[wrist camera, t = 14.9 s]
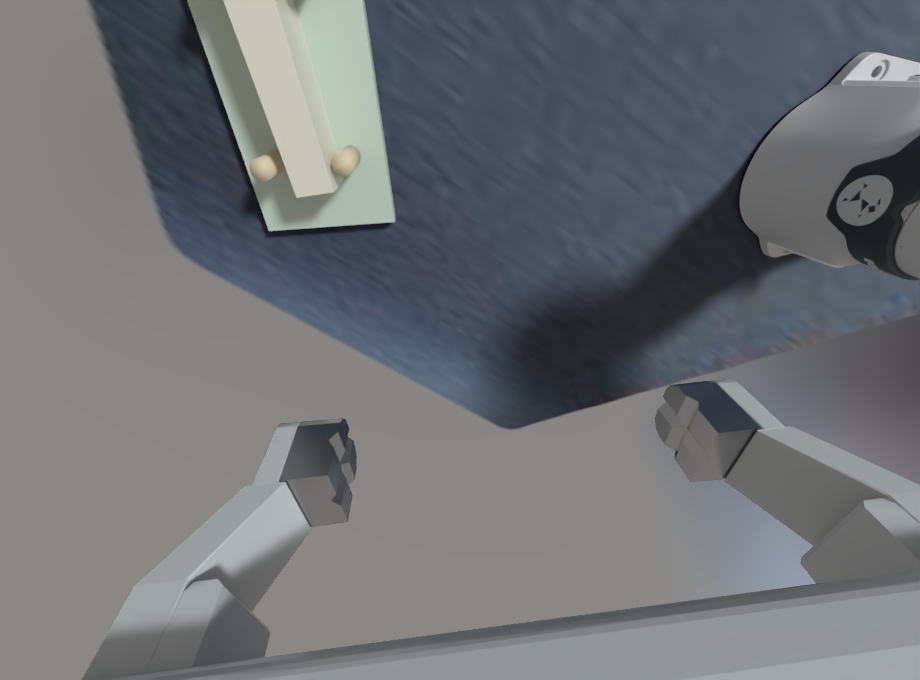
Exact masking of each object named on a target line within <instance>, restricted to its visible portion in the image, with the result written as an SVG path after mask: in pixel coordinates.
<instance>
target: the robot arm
mask: <svg viewBox="0 0 920 680" xmlns="http://www.w3.org/2000/svg"><path fill="white" fill-rule="evenodd" d="M872 71H873V72H872ZM740 212H741V216H742V218H743V220H744V222H745V224H746V225H747V226H748V228H749V229H751V230H752V231H753V232H754V233H755V234H756V235H757V236H758V237H759V241H760V247H761V250H762V252H763V254H765V255H767V256H770V257H780V256H784V255H787V254H791V253H795V254H798V255H800V256H803V257H806V258H809V259H811V260H814V261H817V262H820V263H823V264H825V265H828V266H831V267H836V268H842V267H844V266H848V265H854V264H858V263H860V262H861V263H863V264H866V265H868V266H870V267H871V268H873V269H875V270H877V271H880V272H882V273H885V274H888V275H895V276H897V277H900V278H903V279H908V280H920V63H918V62H914V61H910V60H906V59H902V58H898V57H894V56H890V55H886V54H882V53H876V52H864V53H861V54H859V55H858V56H856V57H855V58H854V59H852V60H851V61H850V62H849V63H848V64H847V65H846V66H845V67H844V68H843V69H842V70H841V71H840V72H839V73H838V75H837V76H836V77H835V78H834V79H833V80H832V81H831V82H830V83H829V84H828V85H827V86H826V87H825V88H824V89H822V90H821V91H820V92H818V93H817V94H815V95H814V96H812V97H811V98H809V99H808V100H806V101H805V102H803V103H802V104H800V105H799V106H798V107H796V108H795V109H794V110H793V111H791V112H790V113H789V114H788V115H787V116H786V117H785V118H784V119H783V120H782V121H781V122H780V123H779V124H778V125H777V126H776V127H775V128H774V129H773V130H772V131H771V132H770V134H769V135H768V136H767V137H766V139H765V140H764V141H763V143H762V144H761V146H760V147H759V149H758V150H757V152H756V153H755V155H754V157H753V159H752V160H751V162H750V164H749V166H748V169H747V171H746V173H745V176H744V179H743V182H742V186H741V191H740ZM663 397H664V399H665V401H666V402H665V404H663V405H662V406H661V407H660V408H659V409H658V410H657V414H656V417H655V422H656V429H657V432H658V434H659V436H660V438H661V440H662V441H663V442H664V444H665V445H667V446H668V447H670V448H672V449H673V450H675V460H676V462H677V463H678V465H679V466H680V467H681V469H682V470H683V472H684V473H685V475H686V476H687V478H688V479H689V480H690V482H698V481H709V480H721V479H725V482H726V483H728V484H729V485H731V486H732V487H734V488H735V489H736V490H737V491H739V492H740V493H742V494H743V495H744V496H746V497H747V498H748V499H750V500H751V501H753V502H754V503H755V504H757V505H758V506H760V507H761V508H762V509H764V510H765V511H767V512H768V513H769V514H771V515H772V516H773V517H775V518H776V519H777V520H779V521H780V522H782V523H783V524H784V525H786V526H787V527H788V528H790V529H791V530H793V531H794V532H795V533H797V534H798V535H800V536H801V537H802V538H804V539H805V540H806V541H808V542H809V543H810V544H812V545H813V547H812V548H811V549H810V550H809V551H808V552H807V553H806V554H804V555H803V556H802V558H801V564H802V566H803V567H804V569H805V570H806V571H807V572H808V574H809V575H810V576H811V577H812V579H813V580H814V581H815V583H816V584H810V585H803V586H795V587H788V588H781V589H773V590H765V591H758V592H751V593H743V594H736V595H729V596H721V597H714V598H705V599H698V600H691V601H683V602H676V603H669V604H661V605H654V606H646V607H639V608H631V609H624V610H616V611H608V612H601V613H593V614H586V615H578V616H571V617H563V618H556V619H549V620H541V621H533V622H526V623H519V624H511V625H503V626H496V627H488V628H481V629H473V630H466V631H458V632H451V633H444V634H436V635H428V636H422V637H414V638H406V639H398V640H391V641H384V642H376V643H369V644H361V645H354V646H346V647H339V648H331V649H324V650H316V651H309V652H301V653H294V654H287V655H279V656H271V657H265V653H266V648H267V644H268V641H269V637H270V632H269V630H268V628H267V626H266V625H265V624H264V623H263V622H262V621H261V620H260V619H258V618H257V616H255V615H254V614H253V613H252V611H253V609H254V608H255V606H256V605H257V604H258V602H259V601H260V600H261V598H262V597H263V595H264V594H265V592H266V591H267V590H268V589H269V587H270V586H271V584H272V583H273V582H274V580H275V579H276V577H277V576H278V575H279V573H280V572H281V570H282V569H283V567H284V566H285V565H286V564H287V562H288V561H289V559H290V558H291V556H292V555H293V554H294V553H295V551H296V550H297V548H298V547H299V546H300V544H301V543H302V541H303V540H304V539H305V537H306V535H308V533H309V532H310V530H311V528H310V527H314V526H321V525H329V524H335V523H342V522H348V517H349V512H350V506H351V499H352V493H351V491H350V488H349V484H350V483H351V482H352V481H353V480H354V479H355V474H356V450H355V445H354V442H353V440H351V439H350V438H348V432H349V427H348V424H347V422H346V420H345V419H330V420H317V421H304V422H296V423H283V424H280V425H279V426H278V427H277V428H276V429H275V431H274V433H273V436H272V438H271V441H270V443H269V446H268V448H267V450H266V453H265V455H264V458H263V460H262V462H261V465H260V467H259V470H258V472H257V475H256V477H255V480H254V482H253V484H252V485H247V486H245V487H244V488H242V489H241V490H240V491H239V492H238V493H237V494H236V495H235V496H234V497H232V498H231V499H230V500H229V501H228V502H227V503H226V504H225V505H224V506H223V507H222V508H221V509H219V510H218V511H217V512H216V513H215V514H214V515H213V516H212V517H210V518H209V519H208V520H207V521H206V522H205V523H204V524H203V525H202V526H200V527H199V528H198V529H197V530H196V531H195V532H194V533H193V534H192V535H191V536H190V537H188V538H187V539H186V540H185V541H184V542H183V543H182V544H181V545H180V546H178V547H177V548H176V549H175V550H174V551H173V552H172V553H171V554H170V555H169V556H167V557H166V558H165V559H164V560H163V561H162V562H161V563H160V564H159V565H157V566H156V567H155V568H154V569H153V570H152V571H151V572H150V573H149V574H148V575H146V576H145V577H144V578H143V579H142V580H141V581H140V582H139V583H138V584H137V585H135V586H134V588H133V590H132V591H131V593H130V595H129V597H128V599H127V600H126V602H125V604H124V606H123V607H122V609H121V611H120V613H119V614H118V617H117V618H116V620H115V622H114V623H113V625H112V627H111V629H110V631H109V633H108V634H107V636H106V638H105V640H104V641H103V643H102V645H101V647H100V648H99V650H98V652H97V653H96V655H95V657H94V659H93V661H92V662H91V664H90V666H89V668H88V669H87V671H86V673H85V675H84V677H83V678H82V680H920V485H918V484H916V483H914V482H912V481H909V480H907V479H905V478H903V477H901V476H899V475H896V474H894V473H892V472H890V471H888V470H885V469H883V468H881V467H879V466H877V465H874V464H872V463H870V462H868V461H866V460H864V459H861V458H859V457H857V456H855V455H853V454H851V453H848V452H846V451H844V450H842V449H840V448H837V447H835V446H833V445H831V444H829V443H826V442H824V441H822V440H820V439H818V438H816V437H813V436H811V435H809V434H807V433H805V432H802V431H800V430H798V429H796V428H794V427H792V426H791V427H785V426H784V425H783V424H781V423H780V422H779V421H778V420H777V419H776V418H775V417H774V416H773V415H772V414H771V413H770V412H768V411H767V410H766V409H765V408H764V407H763V406H762V405H761V404H760V403H759V402H758V401H757V400H756V399H755V398H754V397H753V396H751V395H750V394H749V393H748V392H747V391H746V390H745V389H744V388H743V387H742V386H741V385H740V384H739V383H737V382H736V381H734V380H731V379H723V380H713V381H703V382H694V383H686V384H676V385H670V386H669V387H668V388H667V389H666V390H665V393H664V395H663Z"/></svg>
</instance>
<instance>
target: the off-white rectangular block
mask: <svg viewBox="0 0 920 680" xmlns="http://www.w3.org/2000/svg"><path fill="white" fill-rule="evenodd" d="M223 1H224V4H225V6H226V9H227V12H228V15H229V17H230V20H231V23H232V25H233V28H234V31H235V33H236V36H237V39H238V41H239V44H240V47H241V50H242V52H243V55H244V58H245V60H246V63H247V66H248V68H249V71H250V74H251V76H252V79H253V82H254V85H255V87H256V90H257V93H258V95H259V98H260V101H261V103H262V106H263V109H264V112H265V114H266V117H267V120H268V122H269V125H270V128H271V130H272V133H273V136H274V138H275V141H276V144H277V147H278V149H279V152H280V155H281V157H282V160H283V163H284V165H285V168H286V171H287V173H288V176H289V179H290V182H291V184H292V187H293V190H294V192H295V195H296V198H299V197H306V196H312V195H319V194H326V193H332V192H335V191H336V189H337V188H338V187H339V185H340V184H341V183H342V181H343V180H344V179H345V178H344V177H343V176H340V175H338V174H337V173H336V172H335V171H334V169H333V167H332V160H333V158H334V157H335V156H336V155H337V150H336V147H335V143H334V140H333V136H332V133H331V129H330V126H329V122H328V119H327V115H326V112H325V108H324V105H323V101H322V98H321V94H320V91H319V87H318V84H317V80H316V77H315V73H314V70H313V67H312V63H311V60H310V56H309V53H308V49H307V46H306V42H305V39H304V35H303V32H302V28H301V25H300V21H299V18H298V14H297V11H296V7H295V4H294V0H223Z"/></svg>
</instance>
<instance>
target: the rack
mask: <svg viewBox="0 0 920 680" xmlns="http://www.w3.org/2000/svg"><path fill="white" fill-rule="evenodd" d="M187 2H188V5H189V8H190V10H191V13H192V16H193V19H194V22H195V24H196V27H197V30H198V33H199V36H200V38H201V41H202V44H203V47H204V50H205V53H206V55H207V58H208V61H209V64H210V67H211V69H212V72H213V75H214V78H215V81H216V84H217V86H218V89H219V92H220V95H221V98H222V100H223V103H224V106H225V109H226V112H227V115H228V117H229V120H230V123H231V126H232V129H233V131H234V134H235V137H236V140H237V143H238V146H239V148H240V151H241V154H242V157H243V160H244V162H245V165H246V168H247V171H248V174H249V177H250V179H251V182H252V185H253V188H254V191H255V193H256V196H257V199H258V202H259V205H260V208H261V210H262V213H263V216H264V219H265V222H266V224H267V227H268V230H269V231H278V230H292V229H306V228H320V227H334V226H348V225H362V224H375V223H389V222H395V218H396V216H395V209H394V202H393V195H392V189H391V182H390V175H389V168H388V161H387V154H386V147H385V140H384V133H383V126H382V119H381V112H380V106H379V99H378V92H377V85H376V78H375V71H374V64H373V57H372V50H371V43H370V36H369V29H368V23H367V16H366V9H365V2H364V0H294V4H295V7H296V11H297V14H298V18H299V21H300V25H301V28H302V32H303V35H304V39H305V42H306V46H307V49H308V53H309V56H310V60H311V63H312V67H313V70H314V73H315V77H316V80H317V84H318V87H319V91H320V94H321V98H322V101H323V105H324V108H325V112H326V115H327V119H328V122H329V126H330V129H331V133H332V136H333V140H334V143H335V147H336V150H337V155H336V156H335V157H334V158H333V160H332V167H333V169H334V171H335V172H336V173H337V174H338V175H340V176H343V177H344V178H345V179H344V180H343V181H342V183H341V184H340V185H339V187H338V188H337V189H336V191H335V192H332V193H326V194H319V195H312V196H306V197H299V198H296V195H295V192H294V190H293V187H292V184H291V182H290V179H289V176H288V173H287V171H286V168H285V165H284V163H283V160H282V157H281V155H280V152H279V149H278V147H277V144H276V141H275V138H274V136H273V133H272V130H271V128H270V125H269V122H268V120H267V117H266V114H265V112H264V109H263V106H262V103H261V101H260V98H259V95H258V93H257V90H256V87H255V85H254V82H253V79H252V76H251V74H250V71H249V68H248V66H247V63H246V60H245V58H244V55H243V52H242V50H241V47H240V44H239V41H238V39H237V36H236V33H235V31H234V28H233V25H232V23H231V20H230V17H229V15H228V12H227V9H226V6H225V4H224V1H223V0H187Z"/></svg>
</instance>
